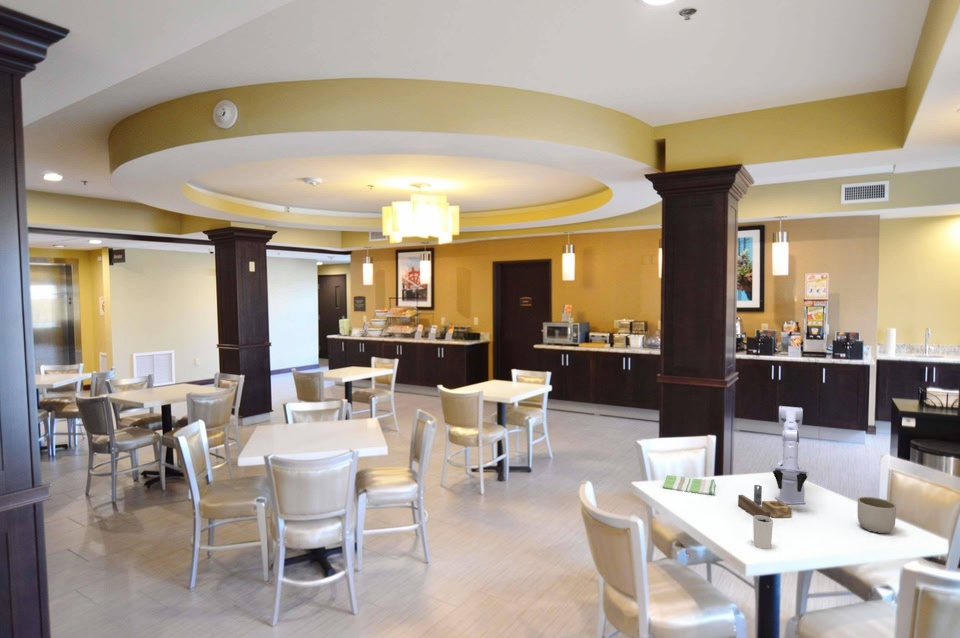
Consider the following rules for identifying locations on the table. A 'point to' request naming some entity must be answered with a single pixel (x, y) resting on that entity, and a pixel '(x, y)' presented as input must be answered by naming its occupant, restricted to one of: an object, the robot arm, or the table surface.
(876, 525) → the planter
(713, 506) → the table surface
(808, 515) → the table surface
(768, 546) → the white cup
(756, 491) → the dowel
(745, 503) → the wooden plank
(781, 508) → the block
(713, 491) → the dish towel
